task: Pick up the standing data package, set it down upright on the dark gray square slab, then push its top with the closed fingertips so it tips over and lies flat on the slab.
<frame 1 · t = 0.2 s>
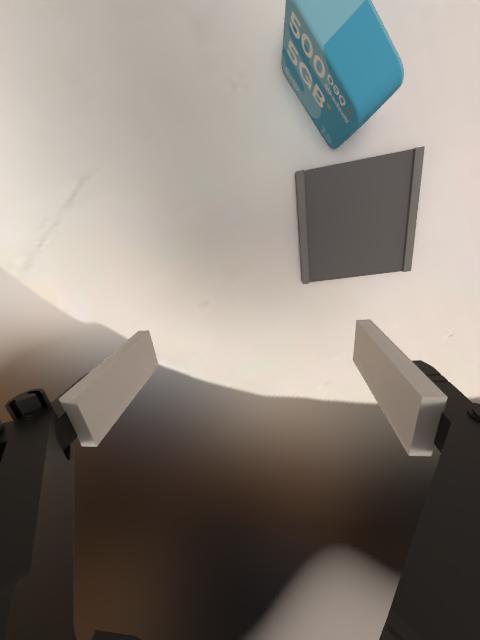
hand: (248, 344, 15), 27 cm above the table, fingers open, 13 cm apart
dark gray square slab: (352, 223, 36), on the table
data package: (321, 98, 31), on the table
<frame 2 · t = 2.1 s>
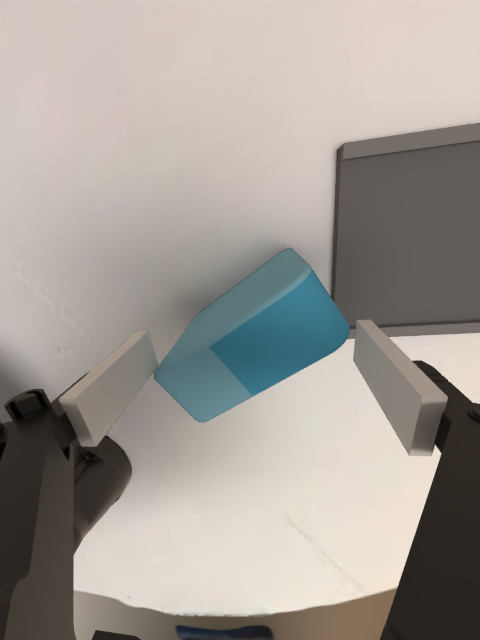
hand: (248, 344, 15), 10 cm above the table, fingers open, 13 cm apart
dark gray square slab: (428, 244, 21), on the table
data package: (252, 299, 25), on the table
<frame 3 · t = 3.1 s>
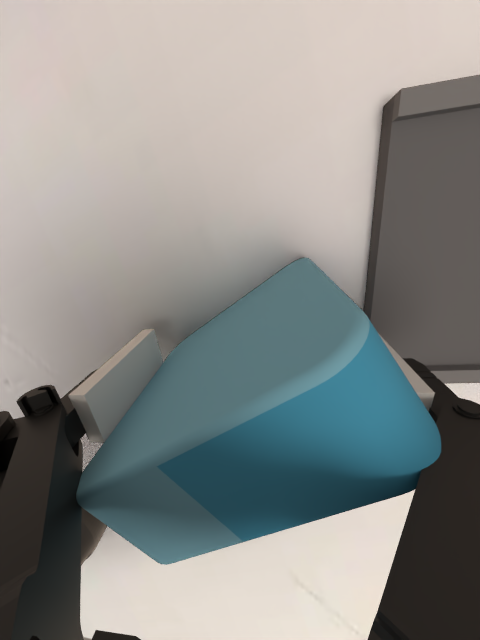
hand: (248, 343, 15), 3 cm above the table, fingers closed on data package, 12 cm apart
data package: (251, 325, 18), on the table, touching gripper
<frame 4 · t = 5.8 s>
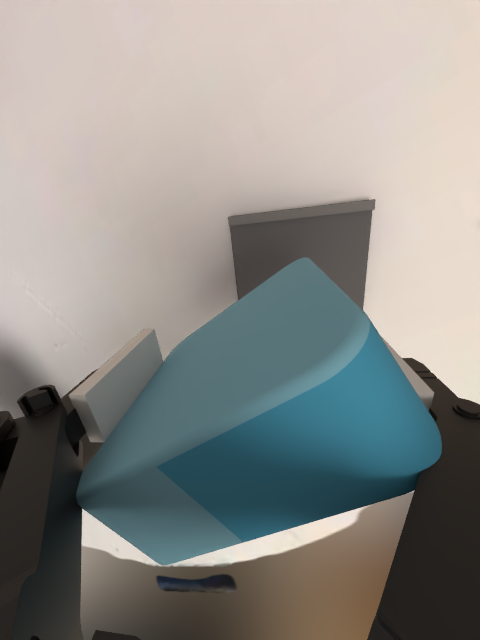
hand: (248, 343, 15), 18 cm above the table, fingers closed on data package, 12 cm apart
dark gray square slab: (297, 276, 31), on the table
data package: (251, 325, 18), point 15 cm above the table, touching gripper
when the fingers open (5 cm above the table, at t = 8.8 s): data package stays where it is, resting on dark gray square slab.
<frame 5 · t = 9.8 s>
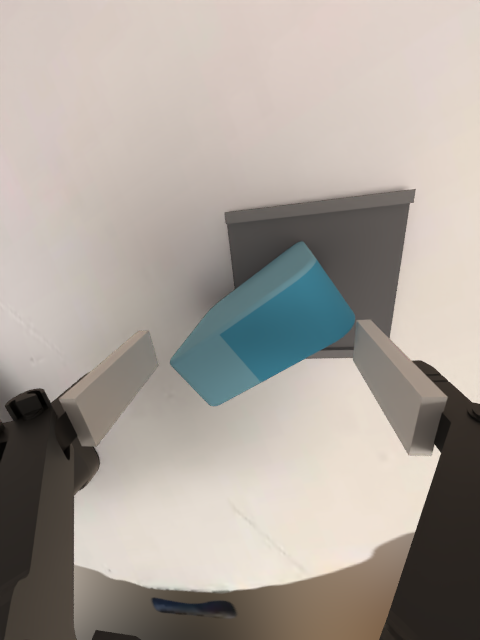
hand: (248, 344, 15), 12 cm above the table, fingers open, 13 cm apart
dark gray square slab: (310, 285, 25), on the table
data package: (264, 292, 25), point 1 cm above the table, touching dark gray square slab, gripper
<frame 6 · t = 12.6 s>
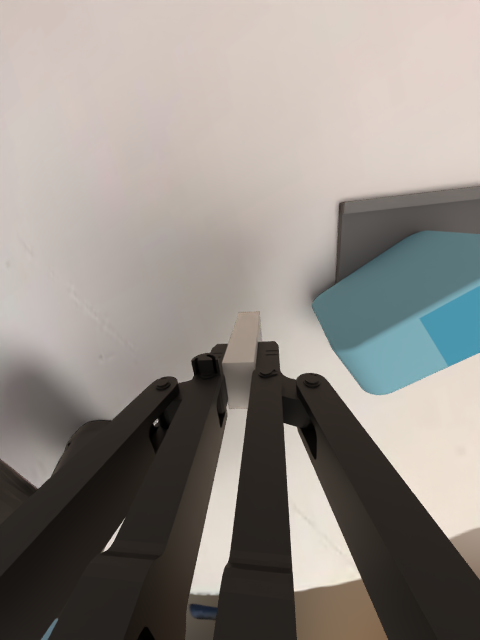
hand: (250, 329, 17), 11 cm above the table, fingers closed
dark gray square slab: (414, 276, 25), on the table
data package: (369, 284, 25), point 1 cm above the table, touching dark gray square slab
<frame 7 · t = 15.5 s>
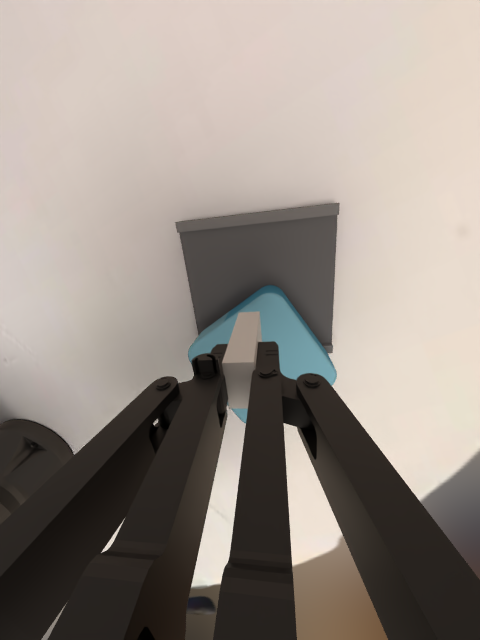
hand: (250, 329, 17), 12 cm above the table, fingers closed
dark gray square slab: (260, 287, 28), on the table
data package: (226, 313, 26), point 4 cm above the table, touching dark gray square slab
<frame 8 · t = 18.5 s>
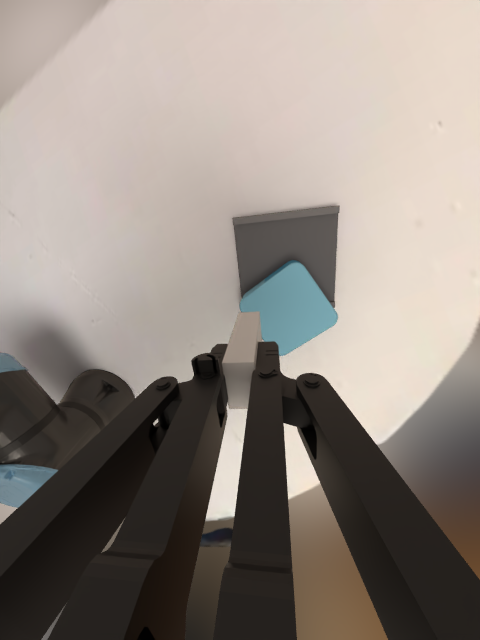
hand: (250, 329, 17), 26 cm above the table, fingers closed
dark gray square slab: (285, 263, 41), on the table
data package: (264, 278, 39), point 4 cm above the table, touching dark gray square slab
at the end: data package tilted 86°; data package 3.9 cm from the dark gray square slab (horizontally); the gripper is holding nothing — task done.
